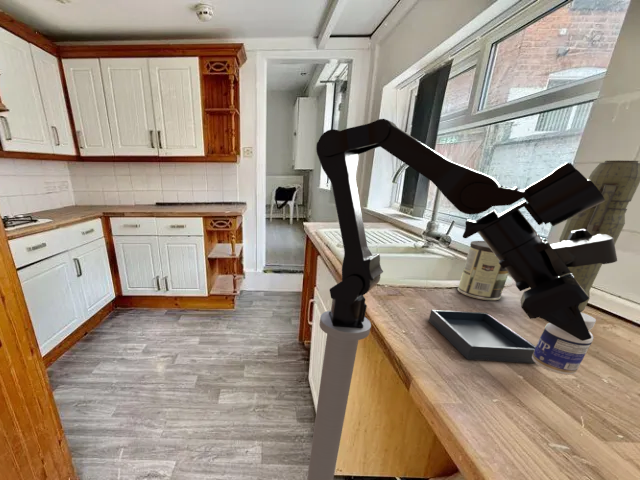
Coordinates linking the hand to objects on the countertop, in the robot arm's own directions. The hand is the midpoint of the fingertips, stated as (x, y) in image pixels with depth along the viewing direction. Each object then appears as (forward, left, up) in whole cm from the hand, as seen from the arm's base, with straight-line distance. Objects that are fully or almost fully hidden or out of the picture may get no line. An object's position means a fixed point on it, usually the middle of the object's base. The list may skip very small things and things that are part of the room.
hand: (583, 332), depth 45 cm
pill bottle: (-1, +1, -7) cm, 7 cm away
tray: (-4, +15, -10) cm, 18 cm away
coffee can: (+13, +42, -11) cm, 45 cm away
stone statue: (+25, +31, -11) cm, 41 cm away
